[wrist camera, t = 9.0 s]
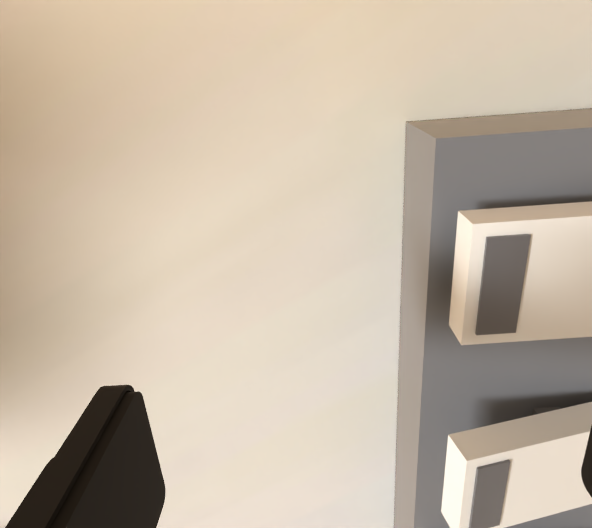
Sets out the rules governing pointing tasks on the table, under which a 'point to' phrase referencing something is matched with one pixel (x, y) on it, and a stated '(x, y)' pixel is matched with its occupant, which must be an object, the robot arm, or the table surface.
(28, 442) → the table surface
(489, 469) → the rocker
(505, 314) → the rocker
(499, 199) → the switch unit
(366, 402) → the table surface
